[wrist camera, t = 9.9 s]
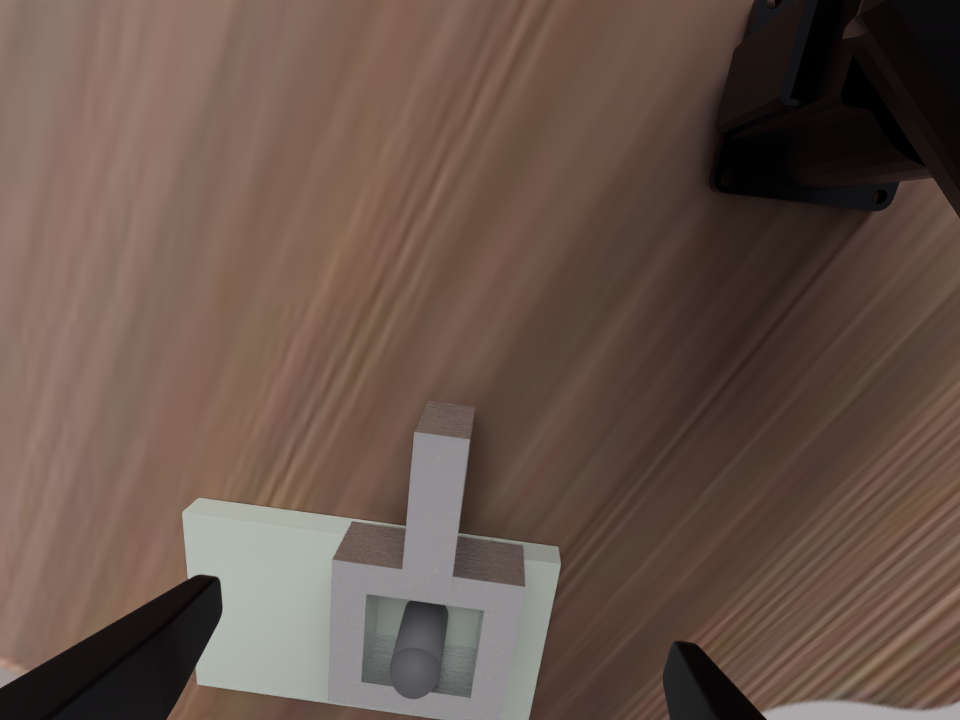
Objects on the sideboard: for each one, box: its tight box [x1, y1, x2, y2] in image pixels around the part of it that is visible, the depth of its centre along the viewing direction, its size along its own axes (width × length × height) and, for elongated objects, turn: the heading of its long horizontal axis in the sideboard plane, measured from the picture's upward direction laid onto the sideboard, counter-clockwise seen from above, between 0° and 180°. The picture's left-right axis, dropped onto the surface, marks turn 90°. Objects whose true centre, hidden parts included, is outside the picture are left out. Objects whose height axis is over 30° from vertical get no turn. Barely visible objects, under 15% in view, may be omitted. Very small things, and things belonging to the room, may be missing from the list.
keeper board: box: [182, 498, 561, 720], centre depth 21 cm, size 18×11×5 cm, turn 83°
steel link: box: [328, 401, 525, 720], centre depth 19 cm, size 14×8×3 cm, turn 173°
